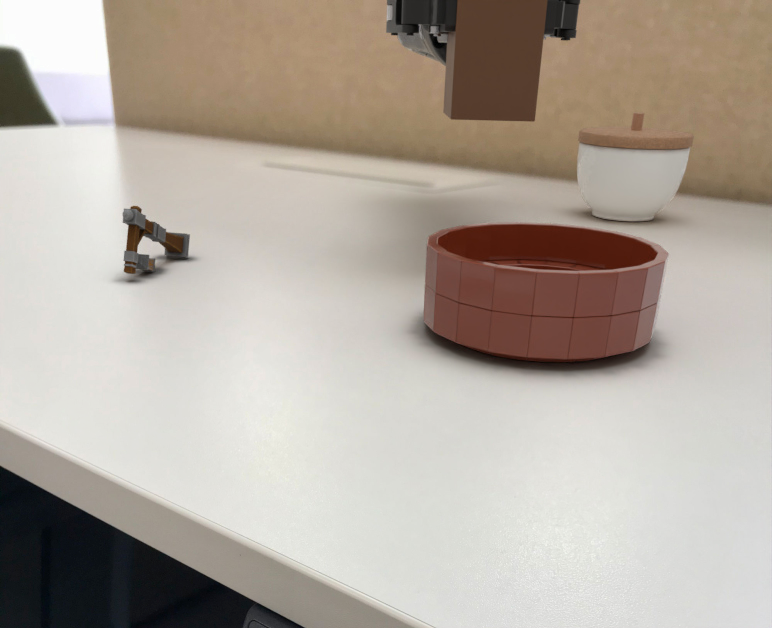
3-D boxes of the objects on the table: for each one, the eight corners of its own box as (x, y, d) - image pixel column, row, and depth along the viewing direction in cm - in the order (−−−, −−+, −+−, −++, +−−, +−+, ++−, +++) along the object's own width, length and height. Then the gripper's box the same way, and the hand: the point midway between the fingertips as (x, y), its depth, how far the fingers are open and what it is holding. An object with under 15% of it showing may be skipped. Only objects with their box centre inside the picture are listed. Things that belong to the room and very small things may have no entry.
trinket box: (612, 229, 76) (630, 117, 72) (548, 209, 85) (559, 109, 80) (701, 222, 80) (722, 116, 76) (630, 204, 89) (646, 108, 84)
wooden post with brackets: (108, 268, 55) (113, 199, 54) (163, 290, 63) (168, 229, 62) (133, 270, 55) (138, 201, 54) (185, 292, 63) (190, 231, 62)
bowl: (502, 290, 56) (509, 214, 54) (687, 331, 49) (706, 245, 46) (377, 332, 47) (379, 243, 45) (580, 389, 40) (596, 287, 38)
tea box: (442, 112, 58) (451, -60, 53) (521, 114, 58) (537, -57, 53) (449, 119, 53) (460, -70, 48) (535, 121, 53) (555, -67, 48)
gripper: (379, -43, 63) (386, -67, 48) (565, -36, 63) (628, -59, 48) (377, 69, 66) (383, 78, 52) (553, 74, 67) (607, 84, 52)
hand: (501, 12), depth 50 cm, fingers closed on tea box, 5 cm apart
